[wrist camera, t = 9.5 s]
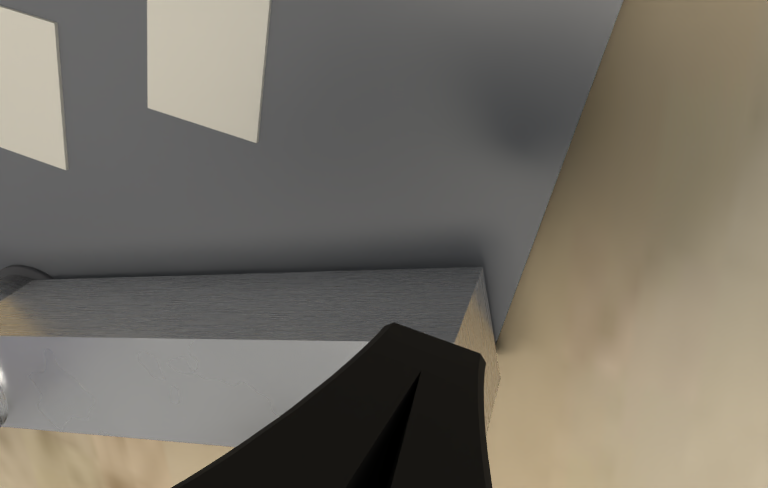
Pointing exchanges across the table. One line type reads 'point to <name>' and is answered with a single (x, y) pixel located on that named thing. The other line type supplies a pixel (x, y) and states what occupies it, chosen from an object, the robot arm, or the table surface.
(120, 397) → the swing arm
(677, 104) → the table surface
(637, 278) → the table surface
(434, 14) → the label plate
